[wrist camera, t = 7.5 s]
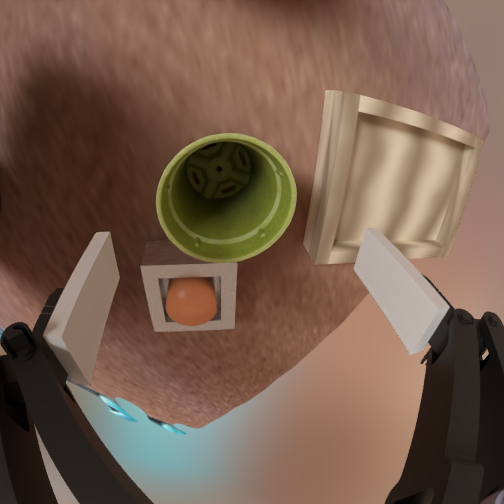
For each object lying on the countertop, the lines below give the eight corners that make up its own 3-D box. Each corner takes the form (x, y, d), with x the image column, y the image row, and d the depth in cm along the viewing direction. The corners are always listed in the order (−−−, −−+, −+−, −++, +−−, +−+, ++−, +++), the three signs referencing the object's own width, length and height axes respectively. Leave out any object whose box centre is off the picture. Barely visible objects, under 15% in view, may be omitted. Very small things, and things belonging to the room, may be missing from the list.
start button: (170, 306, 30) (169, 326, 28) (165, 270, 27) (162, 290, 25) (215, 305, 31) (217, 325, 28) (214, 269, 28) (216, 288, 26)
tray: (302, 244, 32) (314, 264, 28) (325, 90, 23) (345, 91, 19) (430, 241, 35) (447, 256, 32) (461, 131, 26) (483, 139, 23)
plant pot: (282, 190, 28) (312, 231, 20) (197, 228, 28) (197, 282, 21) (246, 103, 22) (267, 110, 15) (151, 149, 23) (129, 177, 16)
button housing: (157, 304, 33) (154, 331, 29) (147, 240, 28) (140, 265, 24) (230, 301, 34) (234, 328, 31) (232, 238, 30) (237, 262, 26)
